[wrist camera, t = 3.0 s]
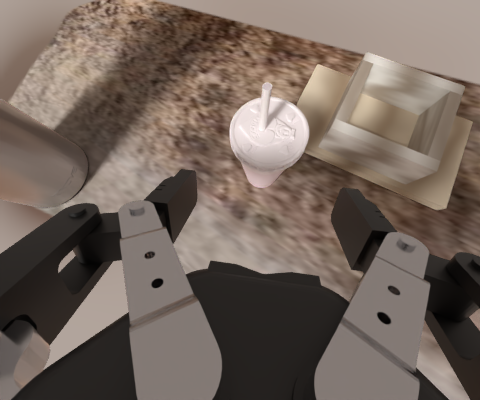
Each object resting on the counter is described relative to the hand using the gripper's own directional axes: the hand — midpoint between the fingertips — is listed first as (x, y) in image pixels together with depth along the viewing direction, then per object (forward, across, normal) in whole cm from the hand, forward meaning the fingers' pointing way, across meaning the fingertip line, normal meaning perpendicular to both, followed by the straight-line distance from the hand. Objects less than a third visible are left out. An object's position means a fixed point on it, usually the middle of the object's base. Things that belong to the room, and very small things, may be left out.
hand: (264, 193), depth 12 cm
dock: (+18, -13, 0) cm, 23 cm away
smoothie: (+14, 0, +5) cm, 14 cm away
